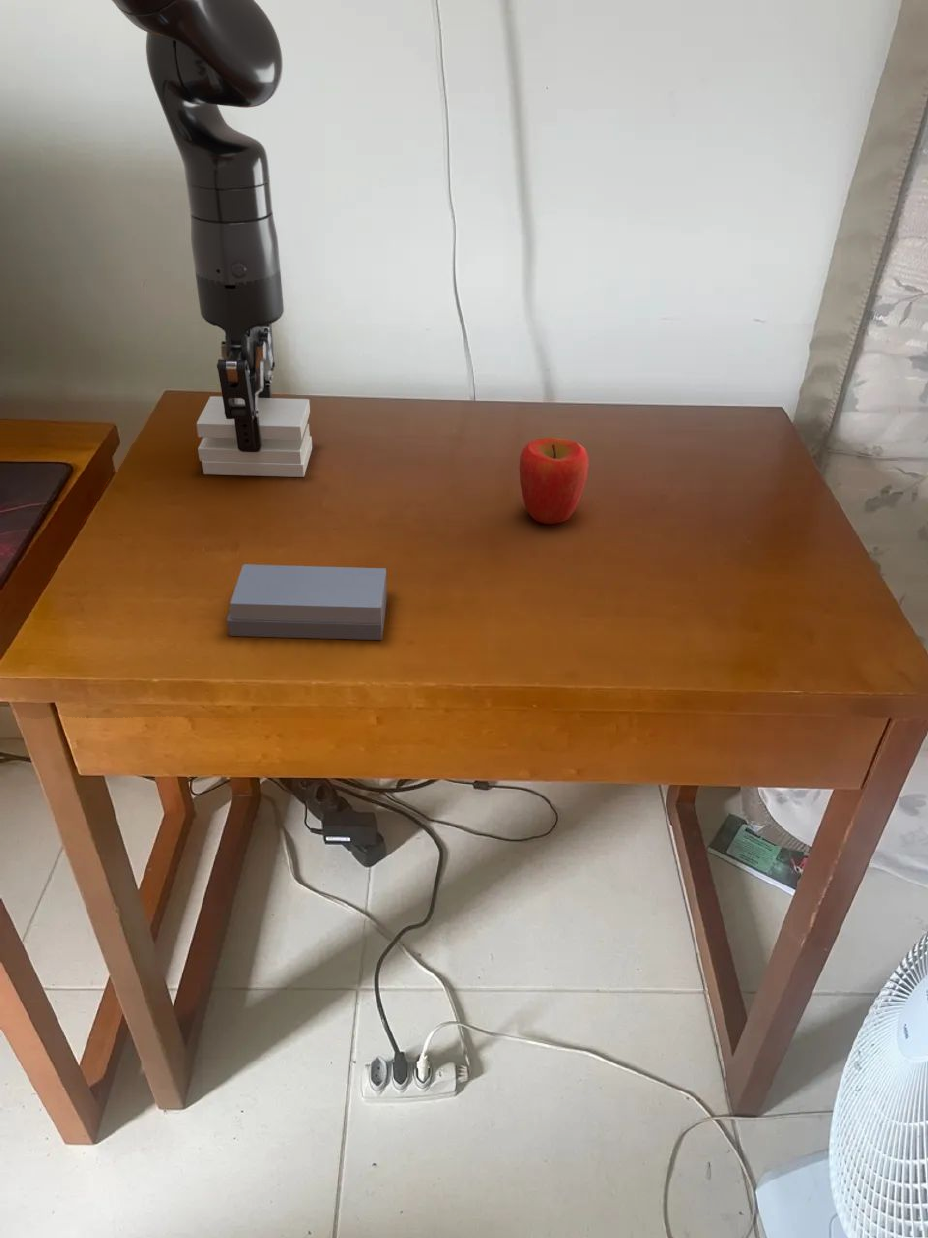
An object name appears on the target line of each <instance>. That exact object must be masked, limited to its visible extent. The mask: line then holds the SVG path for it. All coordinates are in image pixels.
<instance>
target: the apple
mask: <svg viewBox="0 0 928 1238" xmlns="http://www.w3.org/2000/svg"><path fill="white" fill-rule="evenodd" d="M589 463H590V462H589V457H588V452H587V449H586V448H585V447H584V446H583V445H581V444H580V443H578V442H577V441H574V440H571V439H565V438H561V437H560V438H559V437H543V438H538V439H535V440H531V441H530V442H528V443H527V444H525V446H524V447H523V448H522V450H521V453H520V457H519V481H520V488H521V495H522V496H521V497H522V500H523V502H524V506H525V509H526V511H527V513H528V514H529V515H530V517H531V518H532V519H533V520H534V521H536V522H537V523H540V524H544V525H556V524H561V523H564V522H566V521H568V520H569V519H570V517H571V516H572V514H573V513H574V512H575V510H576V509H577V506H578V503H579V501H580V498H581V495H582V493H583V491H584V488H585V484H586V481H587V478H588V477H587V476H588V468H589Z"/></svg>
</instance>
